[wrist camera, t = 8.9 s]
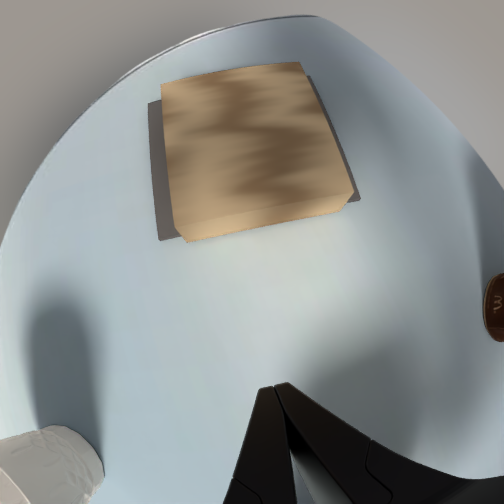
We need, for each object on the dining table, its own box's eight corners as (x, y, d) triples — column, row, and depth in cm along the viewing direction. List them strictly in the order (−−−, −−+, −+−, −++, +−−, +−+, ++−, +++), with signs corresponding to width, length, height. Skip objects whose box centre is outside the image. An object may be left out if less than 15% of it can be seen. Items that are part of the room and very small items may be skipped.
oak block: (339, 211, 21) (294, 89, 24) (354, 191, 18) (299, 61, 20) (186, 242, 20) (170, 110, 23) (174, 227, 17) (160, 84, 20)
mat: (309, 78, 24) (309, 75, 24) (359, 200, 22) (360, 198, 21) (149, 106, 24) (147, 103, 23) (160, 240, 21) (158, 239, 20)
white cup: (32, 407, 18) (-48, 429, 8) (105, 430, 18) (28, 479, 8) (46, 479, 16) (-16, 517, 6) (117, 505, 16) (65, 567, 6)
